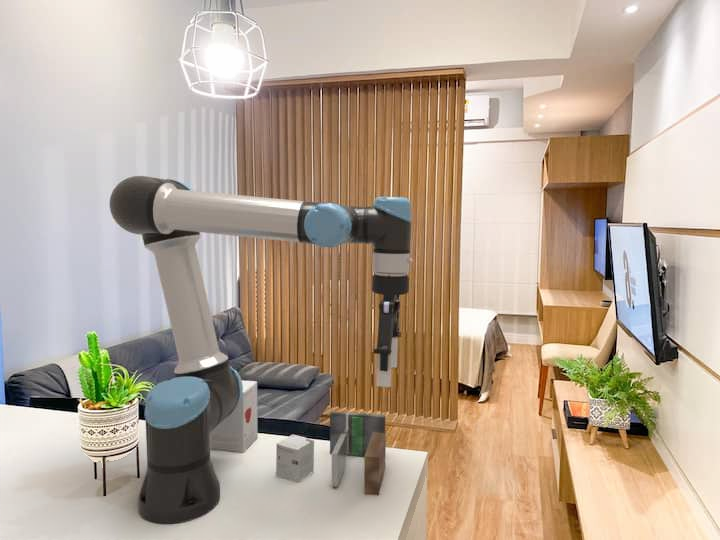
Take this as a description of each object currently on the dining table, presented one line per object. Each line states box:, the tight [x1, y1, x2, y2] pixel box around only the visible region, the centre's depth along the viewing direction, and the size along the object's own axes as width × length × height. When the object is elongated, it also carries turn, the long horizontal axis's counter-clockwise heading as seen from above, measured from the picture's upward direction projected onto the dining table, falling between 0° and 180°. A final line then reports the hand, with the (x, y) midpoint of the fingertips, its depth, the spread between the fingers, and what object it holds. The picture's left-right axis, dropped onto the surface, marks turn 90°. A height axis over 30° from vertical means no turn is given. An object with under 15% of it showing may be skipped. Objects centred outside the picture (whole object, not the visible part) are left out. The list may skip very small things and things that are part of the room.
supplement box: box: [210, 379, 258, 453], centre depth 127 cm, size 9×9×15 cm
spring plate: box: [331, 412, 349, 487], centre depth 114 cm, size 1×15×10 cm, turn 171°
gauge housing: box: [329, 411, 387, 496], centre depth 114 cm, size 14×18×10 cm
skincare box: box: [275, 434, 315, 483], centre depth 113 cm, size 6×6×7 cm
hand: (387, 375), depth 107 cm, fingers open, 13 cm apart
